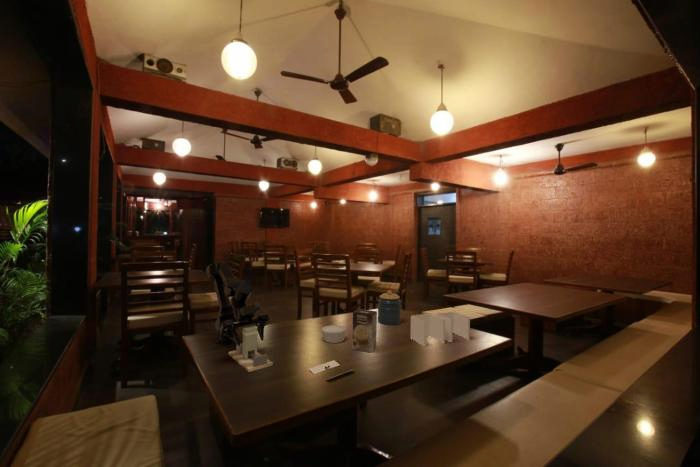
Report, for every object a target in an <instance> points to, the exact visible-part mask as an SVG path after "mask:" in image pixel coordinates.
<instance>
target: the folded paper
mask: <svg viewBox="0 0 700 467" xmlns="http://www.w3.org/2000/svg"><path fill="white" fill-rule="evenodd" d="M338 366H340V364H339V362H337V361H336V360H331V361H328V362H327V361H326V362H324V363H322V364H321V363H320V364H318V365H316V366H312V367H309V368H308V370H309V371H310V372H312V374H318V373H320V372H321V373H322V372H323V371H327V370H329V369H332V368H335V367H338ZM353 370H355V368H353V369H350V370H348V371H347V370H346V372H342V373H340V374H338V375H335V376H332V377H329V378H327V379H326V381H329V380H330V379H331V380H332V379H334V378H336V377H339V376H342V375H344V374H347V373H349V372H352V371H353Z"/></svg>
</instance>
